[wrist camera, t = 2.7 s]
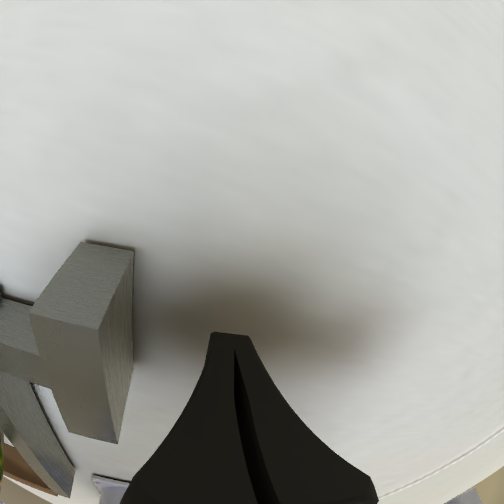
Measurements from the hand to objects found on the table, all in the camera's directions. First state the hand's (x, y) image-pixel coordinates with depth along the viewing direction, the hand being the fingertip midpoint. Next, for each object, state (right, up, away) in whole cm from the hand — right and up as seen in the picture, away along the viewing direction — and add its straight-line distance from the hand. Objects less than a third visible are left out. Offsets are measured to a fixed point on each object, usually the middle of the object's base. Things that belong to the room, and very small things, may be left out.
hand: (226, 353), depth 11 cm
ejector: (-9, -6, +3) cm, 12 cm away
